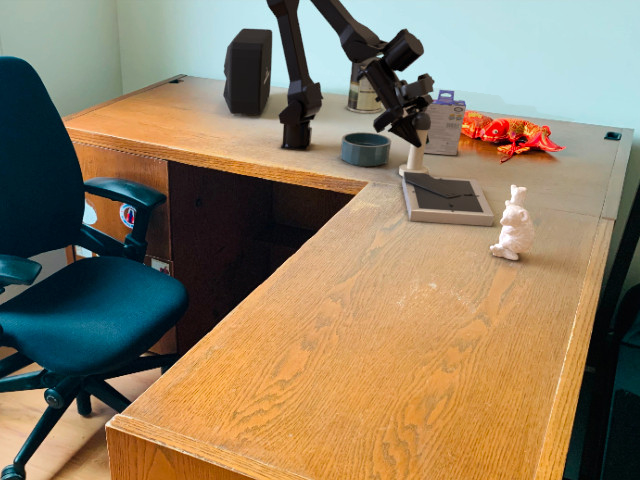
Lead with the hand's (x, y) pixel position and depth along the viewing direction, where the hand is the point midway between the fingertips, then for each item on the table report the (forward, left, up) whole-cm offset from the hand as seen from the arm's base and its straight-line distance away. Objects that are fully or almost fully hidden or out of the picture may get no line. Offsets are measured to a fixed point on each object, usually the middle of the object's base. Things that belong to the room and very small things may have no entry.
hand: (423, 144), depth 148 cm
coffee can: (-18, +57, -7) cm, 60 cm away
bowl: (-13, +8, -7) cm, 17 cm away
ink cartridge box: (+4, +21, -7) cm, 22 cm away
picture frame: (+6, -15, -7) cm, 18 cm away
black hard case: (-53, +49, -7) cm, 72 cm away
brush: (-1, +1, -7) cm, 7 cm away
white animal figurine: (+17, -37, -7) cm, 42 cm away
